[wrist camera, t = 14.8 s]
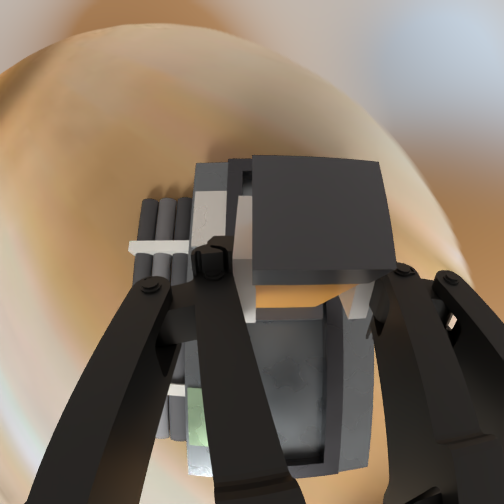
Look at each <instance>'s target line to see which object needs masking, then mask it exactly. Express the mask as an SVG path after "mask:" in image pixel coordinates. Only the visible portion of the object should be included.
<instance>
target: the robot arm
mask: <svg viewBox="0 0 504 504" xmlns="http://www.w3.org/2000/svg"><path fill="white" fill-rule="evenodd" d="M191 263H192V271H193V280H191V281H189V282H187V283H183V284H179V285H174V286H171V283H170V282H169V280H168V279H166V278H164V277H161V276H148V277H145V278H142V279H141V280H139V281H137V282H136V283H135V284H134V285H133V286H132V288H131V289H130V291H129V293H128V294H127V296H126V298H125V299H124V301H123V302H122V304H121V306H120V307H119V309H118V311H117V312H116V314H115V316H114V318H113V319H112V321H111V323H110V324H109V326H108V328H107V330H106V331H105V333H104V335H103V336H102V338H101V340H100V342H99V344H98V345H97V347H96V349H95V351H94V353H93V354H92V356H91V358H90V360H89V362H88V364H87V366H86V367H85V369H84V371H83V373H82V375H81V377H80V379H79V381H78V383H77V385H76V387H75V389H74V391H73V393H72V395H71V397H70V399H69V401H68V403H67V405H66V407H65V409H64V411H63V413H62V415H61V418H60V420H59V422H58V424H57V426H56V429H55V431H54V433H53V435H52V438H51V440H50V442H49V445H48V447H47V449H46V452H45V454H44V457H43V459H42V461H41V464H40V466H39V469H38V472H37V474H36V477H35V480H34V482H33V485H32V488H31V491H30V493H29V496H28V499H27V501H26V502H25V503H24V504H139V501H140V497H141V493H142V489H143V484H144V480H145V476H146V472H147V468H148V464H149V460H150V456H151V452H152V449H153V445H154V441H155V437H156V434H157V430H158V426H159V422H160V419H161V415H162V412H163V408H164V404H165V401H166V397H167V394H168V390H169V387H170V383H171V380H172V377H173V373H174V370H175V366H176V363H177V360H178V356H179V353H180V350H181V347H182V343H183V342H188V341H193V340H197V346H198V358H199V369H200V379H201V389H202V399H203V408H204V416H205V424H206V432H207V439H208V447H209V454H210V460H211V467H212V473H213V480H214V497H215V504H306V502H305V499H304V497H303V494H302V491H301V489H300V486H299V485H298V483H297V481H296V480H295V479H294V478H293V477H292V476H291V474H290V472H289V470H288V467H287V464H286V461H285V457H284V454H283V451H282V447H281V444H280V441H279V438H278V434H277V431H276V427H275V424H274V421H273V417H272V414H271V410H270V407H269V404H268V400H267V397H266V393H265V390H264V386H263V383H262V379H261V376H260V372H259V368H258V365H257V361H256V358H255V354H254V350H253V347H252V343H251V340H250V336H249V332H248V329H247V325H246V323H256V288H255V285H252V196H239V197H238V206H237V216H236V226H235V236H213V237H212V238H211V239H210V240H208V241H207V244H205V245H201V246H199V247H196V248H195V249H194V250H193V251H192V252H191ZM396 265H397V269H396V270H394V271H392V272H390V273H388V274H386V275H385V276H383V277H381V278H379V279H377V280H375V281H373V282H371V283H366V284H358V285H357V286H355V287H353V288H351V289H349V290H347V291H345V292H343V293H341V294H340V295H339V298H340V300H341V303H342V305H343V308H344V310H345V313H346V315H347V318H348V319H361V318H366V316H367V312H368V309H369V306H370V308H371V310H372V313H373V315H372V318H371V321H370V324H369V327H368V331H367V334H366V339H368V338H369V335H370V334H371V333H372V336H373V337H372V339H373V341H374V347H375V352H376V358H377V364H378V370H379V377H380V384H381V391H382V398H383V406H384V415H385V424H386V434H387V446H388V460H389V485H388V487H387V490H386V492H385V494H384V499H383V504H504V323H503V322H502V321H501V320H500V319H499V318H498V316H497V315H496V314H495V313H494V312H493V311H492V310H491V308H490V307H489V306H488V305H487V304H486V303H485V302H484V301H483V300H482V299H481V297H480V296H479V295H478V294H477V293H476V292H475V291H474V290H473V289H472V288H471V287H470V286H469V285H468V284H467V283H466V282H465V281H464V280H463V279H462V278H461V277H460V276H459V275H457V274H455V273H454V272H452V271H448V270H446V271H445V270H441V271H438V272H437V273H436V276H435V279H434V281H433V280H427V279H421V278H420V276H419V274H418V273H417V271H416V270H415V269H414V268H412V267H411V266H409V265H406V264H404V263H398V262H397V261H396ZM453 315H454V316H455V317H456V318H457V321H456V323H455V325H454V327H453V329H451V328H450V327H449V326H448V324H449V322H450V320H451V318H452V316H453Z"/></svg>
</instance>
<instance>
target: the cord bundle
mask: <svg viewBox="0 0 504 504" xmlns="http://www.w3.org/2000/svg"><path fill="white" fill-rule="evenodd" d="M176 206H177V211H176ZM158 208H159V209H158ZM191 211H192V198H188V197H182V198H179V199H178V202H177V201H176V200H174V199H172V198H162V199H160V202H158V201H157V200H154V199H144V200H143V201H142V207H141V214H140V221H139V228H138V236H137V241H129V249H128V251H129V252H130V253H131V254H133V255H134V256H135V263H134V273H133V285H134V284H135V283H136V282H137V281H139V280H141V279H142V278H145V277H148V276H161V277H164V278H166V279H168V280H169V282H170V277H171V286H174V285H179V284H183V283H187V268H188V251H189V236H190V223H191ZM175 215H176V221H175ZM157 216H158V217H157ZM156 224H157V226H156ZM174 225H175V231H174ZM155 233H156V235H155ZM173 236H174V240H173ZM171 262H172V270H171ZM152 264H153V266H152ZM168 395H169V408H168ZM169 419H170V432H169ZM169 437H170V438H171V439H172V440H175V441H187V439H186V413H185V342H183V343H182V347H181V350H180V353H179V356H178V360H177V363H176V366H175V370H174V373H173V377H172V380H171V383H170V387H169V390H168V394H167V397H166V401H165V404H164V408H163V412H162V415H161V419H160V422H159V426H158V430H157V434H156V437H155V438H158V439H165V438H169Z"/></svg>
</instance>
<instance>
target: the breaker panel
mask: <svg viewBox="0 0 504 504" xmlns="http://www.w3.org/2000/svg"><path fill="white" fill-rule="evenodd" d="M239 196H252V159H228V162H222V163H196V169H195V179H194V189H193V199H192V211H191V223H190V236H189V251H188V268H187V282H189V281H191V280H193V271H192V263H191V252H192V251H193V250H194V249H195V248H196V247H199V246H201V245H205V244H207V241H208V240H210V239H211V238H212V237H213V236H235V226H236V216H237V206H238V197H239ZM372 315H373V313H372V310H371V308H370V306H369V309H368V312H367V316H366V318H361V319H348V318H347V315H346V313H345V310H344V308H343V305H342V303H341V300H340V298H339V295H338V296H336V297H334V298H332V299H330V300H328V301H326V302H324V303H323V319H320V320H302V321H256V323H246V325H247V329H248V332H249V336H250V340H251V343H252V347H253V350H254V354H255V358H256V361H257V365H258V368H259V372H260V376H261V379H262V383H263V386H264V390H265V393H266V397H267V400H268V404H269V407H270V410H271V414H272V417H273V421H274V424H275V427H276V431H277V434H278V438H279V441H280V444H281V447H282V451H283V454H284V457H285V461H286V464H287V467H288V470H289V472H290V474H291V476H292V477H293V478H294V479H295V478H307V477H317V476H325V475H333V474H338V472H341V471H347V470H353V469H358V468H363V467H368V458H369V449H370V439H371V426H372V411H373V387H374V341H373V339H372V337H373V336H372V333H371V334H370V335H369V338H368V339H366V334H367V331H368V327H369V324H370V321H371V318H372ZM185 413H186V439H187V458H188V473H189V475H197V476H208V477H213V473H212V467H211V460H210V454H209V447H208V439H207V432H206V424H205V416H204V408H203V399H202V389H201V379H200V369H199V358H198V346H197V340H193V341H188V342H185Z"/></svg>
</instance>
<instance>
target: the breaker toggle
mask: <svg viewBox="0 0 504 504" xmlns="http://www.w3.org/2000/svg"><path fill="white" fill-rule="evenodd" d="M396 269H397V265H396V256H395V248H394V241H393V234H392V227H391V221H390V215H389V209H388V204H387V199H386V194H385V189H384V184H383V179H382V174H381V170H380V166H379V162H375V161H365V160H354V159H341V158H326V157H308V156H277V155H252V285H255V288H256V321H302V320H320V319H323V303H324V302H326V301H328V300H330V299H332V298H334V297H336V296H338V295H340V294H341V293H343V292H345V291H347V290H349V289H351V288H353V287H355V286H357V285H358V284H366V283H371V282H373V281H375V280H377V279H379V278H381V277H383V276H385V275H386V274H388V273H390V272H392V271H394V270H396Z"/></svg>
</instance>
